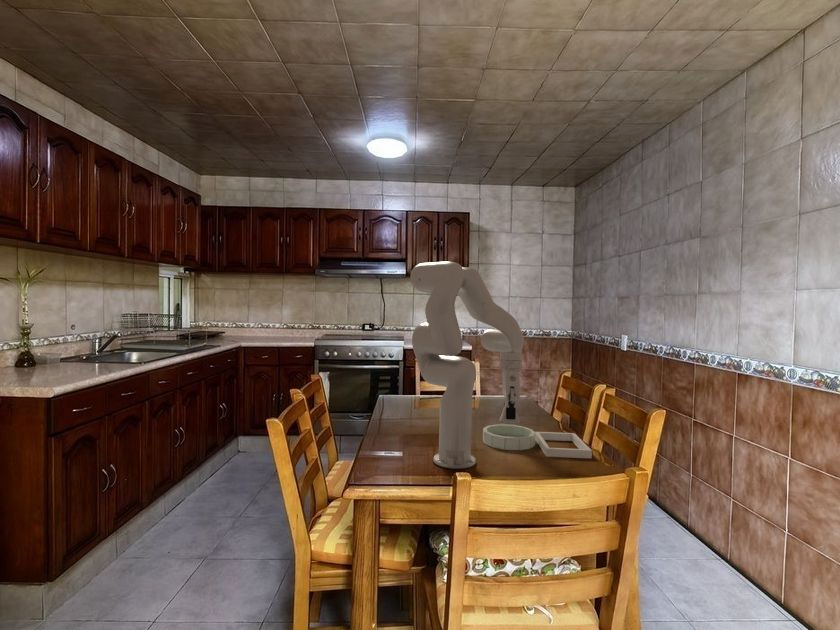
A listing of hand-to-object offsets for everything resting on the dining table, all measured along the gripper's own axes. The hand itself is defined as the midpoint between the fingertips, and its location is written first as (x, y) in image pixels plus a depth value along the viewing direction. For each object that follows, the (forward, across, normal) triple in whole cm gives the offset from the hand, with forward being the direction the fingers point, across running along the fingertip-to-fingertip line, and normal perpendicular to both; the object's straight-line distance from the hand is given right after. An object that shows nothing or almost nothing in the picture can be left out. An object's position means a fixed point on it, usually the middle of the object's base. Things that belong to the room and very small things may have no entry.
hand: (509, 416), depth 161 cm
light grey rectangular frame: (+9, -4, -17) cm, 20 cm away
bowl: (+9, 0, 0) cm, 9 cm away
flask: (+2, 0, 0) cm, 2 cm away
